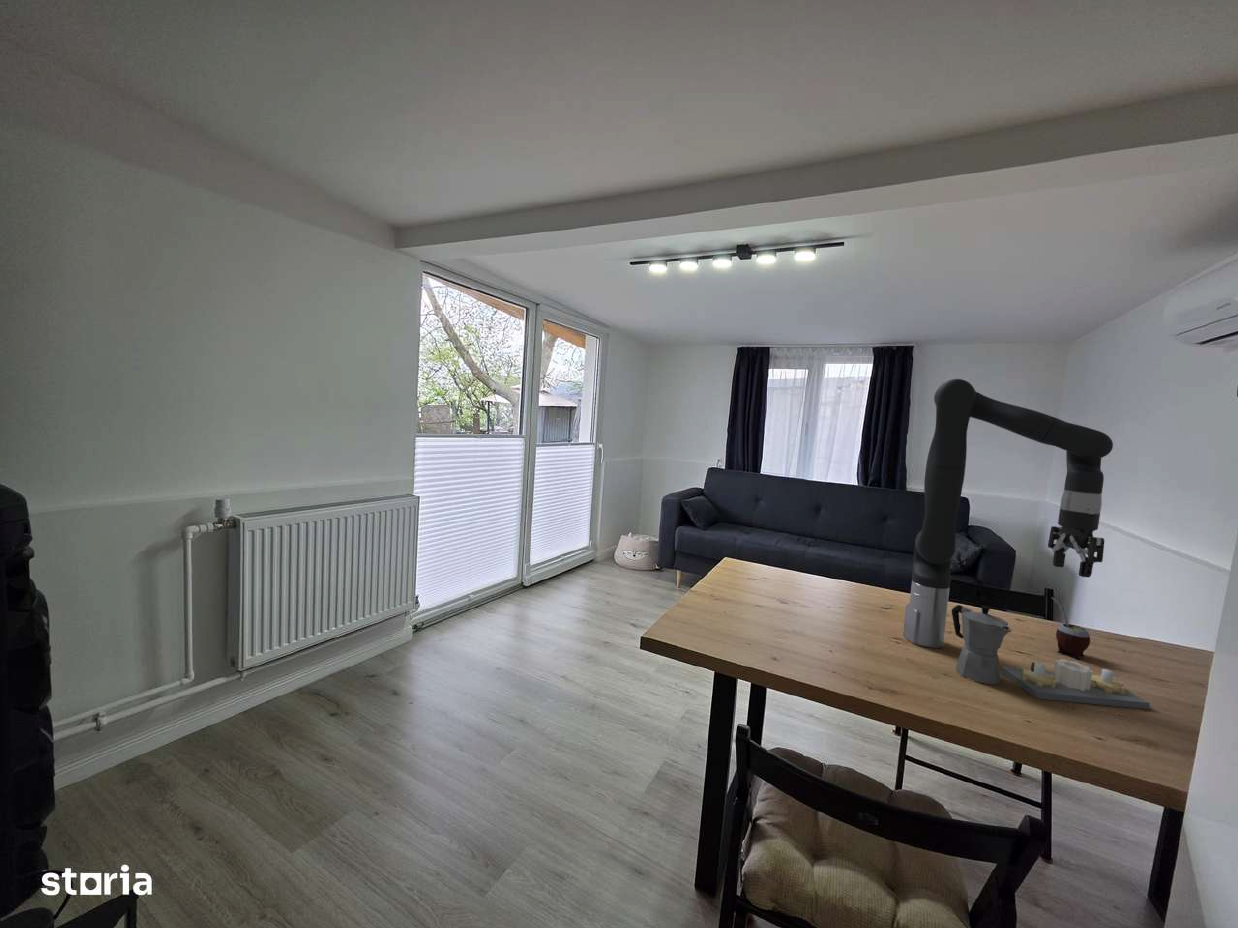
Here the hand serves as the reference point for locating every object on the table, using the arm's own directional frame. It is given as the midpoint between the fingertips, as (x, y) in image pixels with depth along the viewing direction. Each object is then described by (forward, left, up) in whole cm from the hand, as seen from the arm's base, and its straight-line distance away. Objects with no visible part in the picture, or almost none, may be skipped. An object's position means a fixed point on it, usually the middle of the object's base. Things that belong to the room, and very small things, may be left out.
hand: (1070, 571), depth 126 cm
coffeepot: (-24, -6, -27) cm, 37 cm away
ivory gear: (-4, -10, -25) cm, 27 cm away
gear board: (-4, -10, -27) cm, 29 cm away
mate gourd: (+12, +12, -27) cm, 32 cm away
